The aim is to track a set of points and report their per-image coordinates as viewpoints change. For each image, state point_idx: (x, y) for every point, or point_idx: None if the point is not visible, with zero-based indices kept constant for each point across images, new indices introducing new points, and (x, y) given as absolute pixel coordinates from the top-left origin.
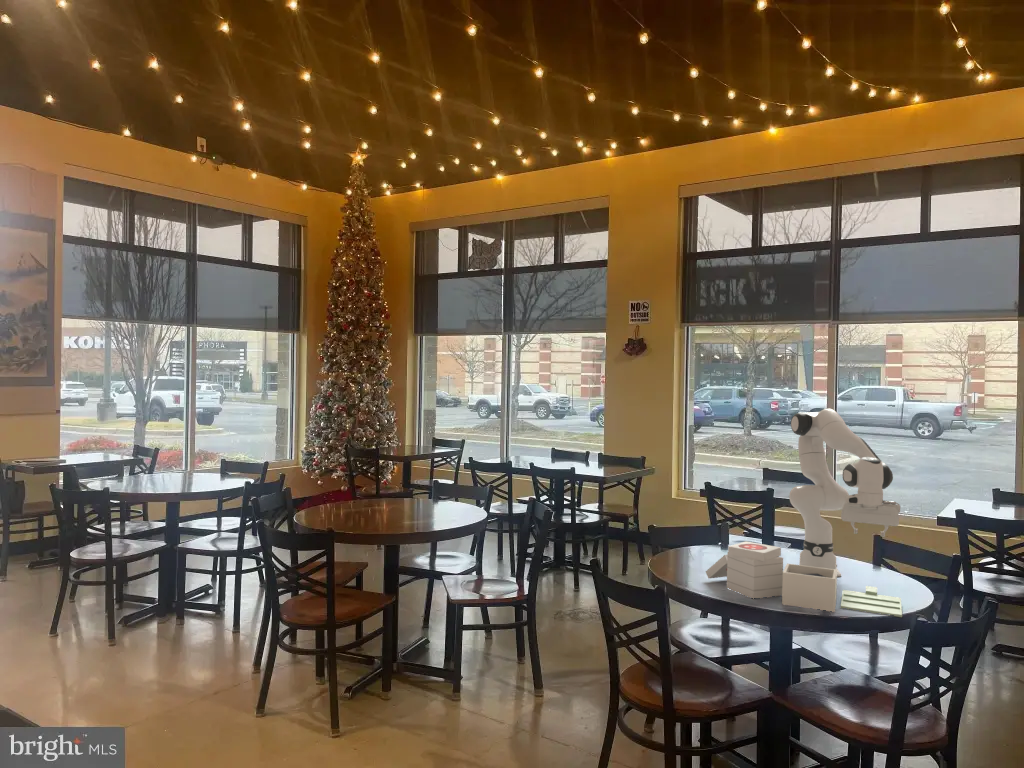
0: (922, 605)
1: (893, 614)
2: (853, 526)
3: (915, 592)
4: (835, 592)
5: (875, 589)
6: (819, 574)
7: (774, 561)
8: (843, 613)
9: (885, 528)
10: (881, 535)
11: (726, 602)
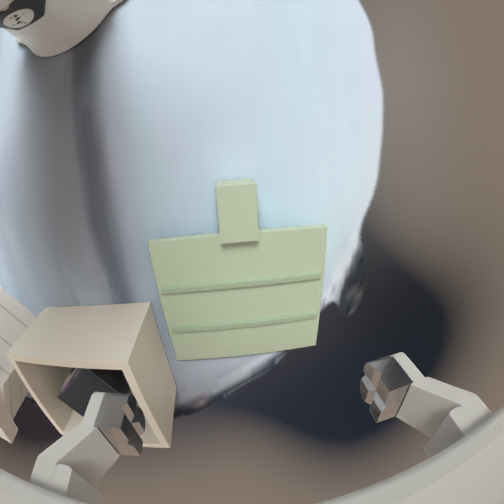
0: (371, 195)
1: (297, 346)
2: (98, 476)
3: (352, 51)
4: (165, 398)
5: (251, 211)
6: (97, 380)
7: (7, 395)
8: (193, 385)
9: (437, 420)
10: (368, 395)
11: (34, 402)
